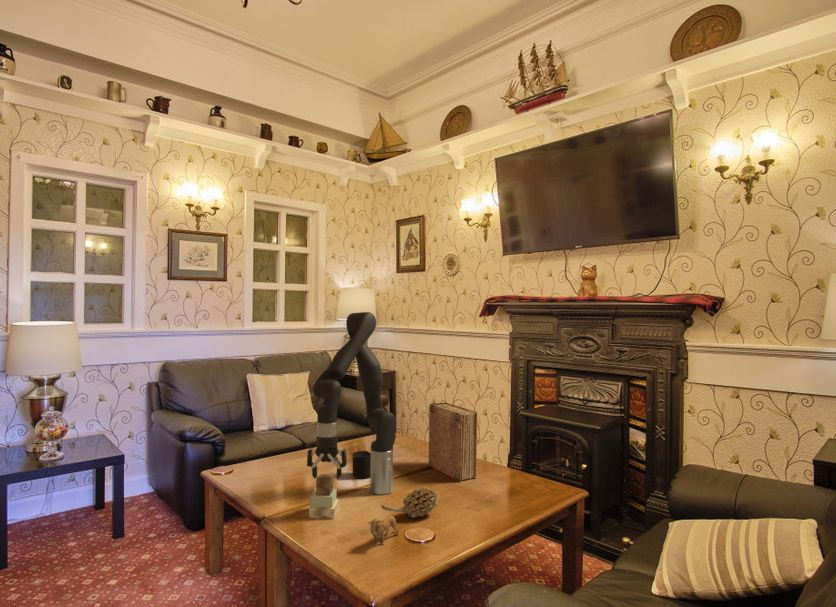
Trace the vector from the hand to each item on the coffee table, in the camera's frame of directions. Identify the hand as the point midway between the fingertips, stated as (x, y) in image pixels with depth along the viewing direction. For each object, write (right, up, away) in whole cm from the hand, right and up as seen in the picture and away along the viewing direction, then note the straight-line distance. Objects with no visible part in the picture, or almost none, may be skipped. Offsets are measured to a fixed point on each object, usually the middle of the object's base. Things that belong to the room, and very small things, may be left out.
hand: (326, 477), depth 184 cm
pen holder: (+9, -14, +41) cm, 45 cm away
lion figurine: (+23, -14, -21) cm, 33 cm away
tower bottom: (-1, -14, 0) cm, 14 cm away
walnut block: (-1, -6, 0) cm, 6 cm away
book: (+49, -15, +48) cm, 71 cm away
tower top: (-1, -10, 0) cm, 10 cm away
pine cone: (+30, -14, -2) cm, 34 cm away
